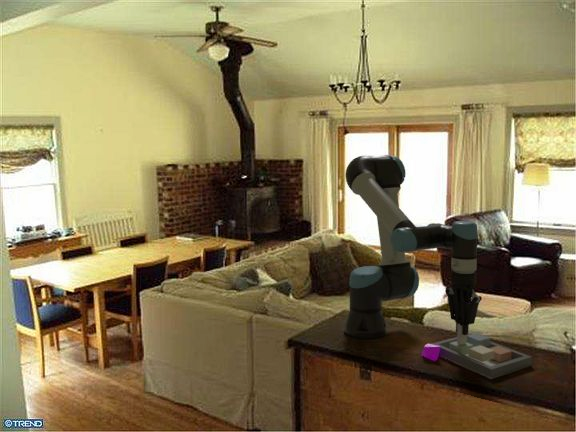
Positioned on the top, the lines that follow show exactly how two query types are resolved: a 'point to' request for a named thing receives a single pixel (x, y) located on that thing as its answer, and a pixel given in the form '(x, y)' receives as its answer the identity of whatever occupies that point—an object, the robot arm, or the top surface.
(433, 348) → the crystal
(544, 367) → the top surface
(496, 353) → the key terracotta
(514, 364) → the grey tray
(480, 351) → the key cream
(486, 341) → the key slate
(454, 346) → the key sage
